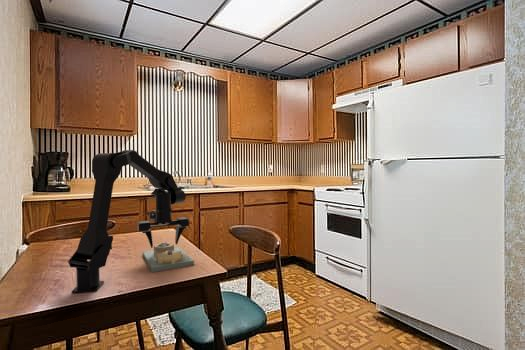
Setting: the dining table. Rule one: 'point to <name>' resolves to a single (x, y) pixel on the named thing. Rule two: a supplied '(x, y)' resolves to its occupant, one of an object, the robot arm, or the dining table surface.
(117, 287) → the dining table surface
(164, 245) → the peg
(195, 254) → the dining table surface
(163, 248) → the beige thick ring
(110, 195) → the robot arm
